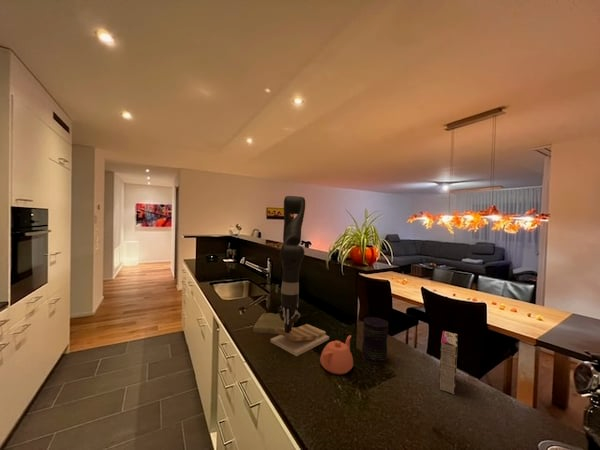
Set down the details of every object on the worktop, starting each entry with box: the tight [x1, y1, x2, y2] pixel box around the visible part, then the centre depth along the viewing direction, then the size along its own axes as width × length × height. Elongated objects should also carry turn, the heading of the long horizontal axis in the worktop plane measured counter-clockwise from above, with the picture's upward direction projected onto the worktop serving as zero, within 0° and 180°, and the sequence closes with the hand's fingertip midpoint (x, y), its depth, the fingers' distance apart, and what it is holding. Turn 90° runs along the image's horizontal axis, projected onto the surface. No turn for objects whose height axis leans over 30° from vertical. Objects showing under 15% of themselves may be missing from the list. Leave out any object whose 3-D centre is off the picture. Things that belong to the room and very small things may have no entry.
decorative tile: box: [252, 312, 295, 335], centre depth 132 cm, size 19×20×4 cm
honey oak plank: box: [274, 327, 316, 341], centre depth 114 cm, size 15×12×2 cm
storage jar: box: [361, 316, 389, 365], centre depth 105 cm, size 10×10×15 cm
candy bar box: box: [438, 330, 459, 395], centre depth 89 cm, size 11×5×16 cm, turn 148°
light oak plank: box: [297, 323, 327, 339], centre depth 122 cm, size 7×12×2 cm, turn 47°
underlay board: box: [270, 334, 330, 357], centre depth 116 cm, size 22×16×2 cm
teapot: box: [319, 334, 354, 375], centre depth 98 cm, size 12×18×10 cm
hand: (287, 331), depth 110 cm, fingers closed
